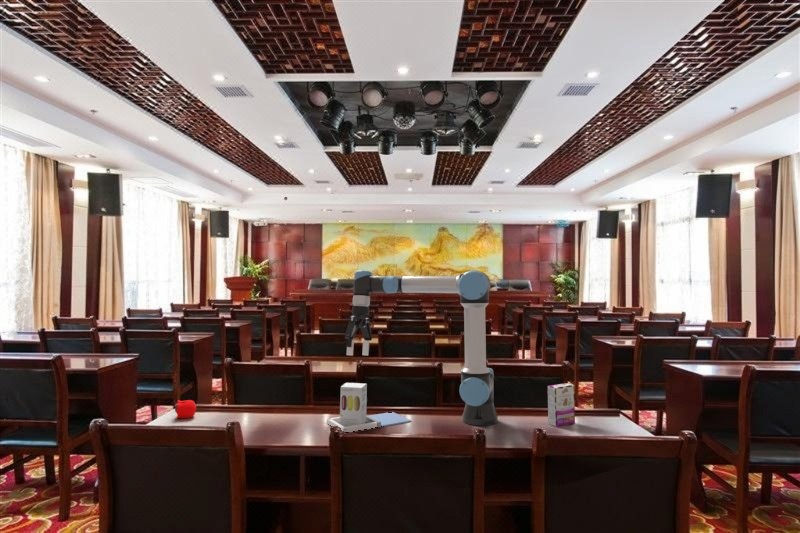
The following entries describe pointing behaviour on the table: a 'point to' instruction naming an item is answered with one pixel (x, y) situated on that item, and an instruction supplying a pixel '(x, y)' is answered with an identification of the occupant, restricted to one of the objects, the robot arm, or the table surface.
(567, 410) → the candy bar box
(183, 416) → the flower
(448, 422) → the table surface
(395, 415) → the bay rack
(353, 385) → the supplement box
